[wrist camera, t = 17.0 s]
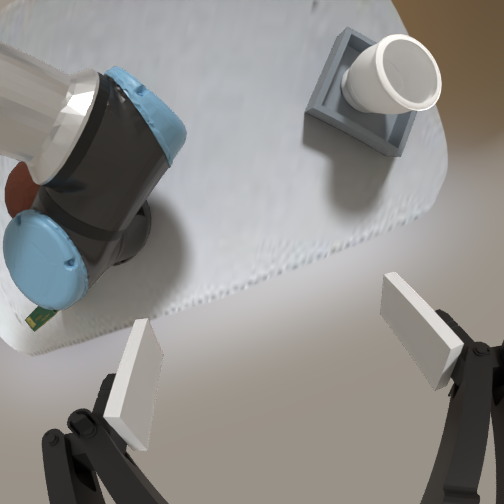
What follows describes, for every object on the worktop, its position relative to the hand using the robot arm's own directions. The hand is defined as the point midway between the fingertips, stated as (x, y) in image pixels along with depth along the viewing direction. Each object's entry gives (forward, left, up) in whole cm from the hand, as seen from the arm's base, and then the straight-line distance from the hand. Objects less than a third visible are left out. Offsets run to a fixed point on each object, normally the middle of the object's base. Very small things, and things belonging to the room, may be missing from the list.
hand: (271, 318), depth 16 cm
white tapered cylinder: (+10, +27, -33) cm, 43 cm away
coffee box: (-26, -25, -33) cm, 49 cm away
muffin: (-35, -9, -33) cm, 49 cm away
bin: (+11, +26, -33) cm, 43 cm away
